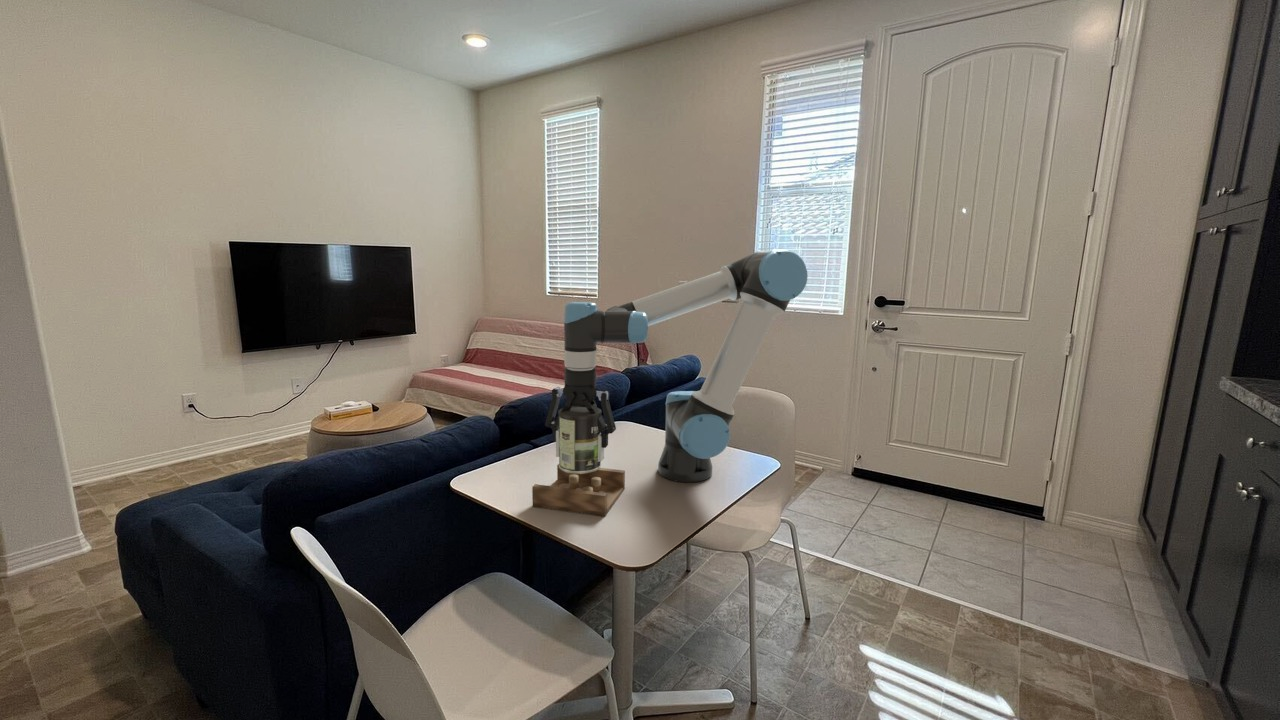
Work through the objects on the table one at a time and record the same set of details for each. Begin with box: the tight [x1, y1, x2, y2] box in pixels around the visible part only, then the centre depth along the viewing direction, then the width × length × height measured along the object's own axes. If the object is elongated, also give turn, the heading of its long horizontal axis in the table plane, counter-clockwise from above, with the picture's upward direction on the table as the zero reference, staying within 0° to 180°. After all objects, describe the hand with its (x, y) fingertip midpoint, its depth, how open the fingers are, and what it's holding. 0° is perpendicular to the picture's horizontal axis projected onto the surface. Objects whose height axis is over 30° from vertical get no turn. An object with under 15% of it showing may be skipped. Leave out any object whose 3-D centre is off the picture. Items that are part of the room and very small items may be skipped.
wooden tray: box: [531, 463, 626, 518], centre depth 128 cm, size 18×16×5 cm
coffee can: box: [557, 406, 603, 474], centre depth 125 cm, size 10×10×14 cm
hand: (580, 457), depth 126 cm, fingers closed on coffee can, 10 cm apart
